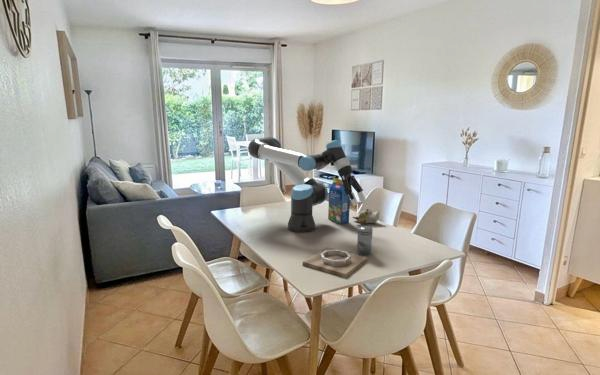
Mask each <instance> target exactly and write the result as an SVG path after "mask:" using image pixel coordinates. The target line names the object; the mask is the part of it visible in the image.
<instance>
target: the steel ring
mask: <svg viewBox="0 0 600 375" xmlns="http://www.w3.org/2000/svg"><path fill="white" fill-rule="evenodd" d="M334 249H335V250H325V251H324V252H322V253H321V254H320V258H321V260H322V262H323V263H326V264H329V265H333V266H337V265H346V264H347V263H349V262H350V261H351V256H350V255H349V253H350V252H349V251H346V250H341V249H336V248H334ZM327 255H340V256H344V257H346V258H345V259H342V260H332V259H328V258H325V257H326V256H327Z"/></svg>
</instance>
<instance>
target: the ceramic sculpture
mask: <svg viewBox="0 0 600 375" xmlns="http://www.w3.org/2000/svg"><path fill="white" fill-rule="evenodd" d="M379 217H380V211H375V212H373V211H372V210H370V209H368V208H367V209H365V210H362V211H360V212H359V214H358V216H356V217H355V216H352V218H353V219H354V220H355V221H354V223H356V224H360V225H362V224H369V223H372V224H374V225H376V224H377V223H378V220H379Z"/></svg>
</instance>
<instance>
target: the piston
mask: <svg viewBox="0 0 600 375" xmlns="http://www.w3.org/2000/svg"><path fill="white" fill-rule="evenodd" d="M373 231H374V230H373V227H372V226H368V225H360V226H358V227H357V242H356V244H357V246H356V255H360V256H364V257H369V256H371V255H372V246H373V244H372V243H373Z"/></svg>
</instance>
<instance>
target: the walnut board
mask: <svg viewBox="0 0 600 375" xmlns="http://www.w3.org/2000/svg"><path fill="white" fill-rule="evenodd" d="M335 249H336V248H331V247H325V248H323V249H321V250H319V251H318V252H316V253H315V254H313V255H311V256H309V257H308V258H306V259H304V260H303V261H302V266H304V267H305V266H306V267H307V268H308V267H309V268H312V269H315V270H319V271H321V272H326V273H329V274H333V275H335V276H339V277H342V278H348V276H349V275H351V274H352V273H354V272H355V271H356V270H357V269H359V267H361V266H362V265H363V264H364V263H365V264H366V262H367V261H368V256H361V255H358V254H357V253H350V252H348V253H349V255H350V256H351V261H350V262H349V263H347V264H346V265H337V266H333V265H329V264H326V263H323V262H322V260H321V258H320V254H321V253H322V252H324V251H325V250H335ZM325 258H328V259H332V260H342V259H345V258H346V257H344V256H340V255H327V256H326V257H325Z"/></svg>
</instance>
